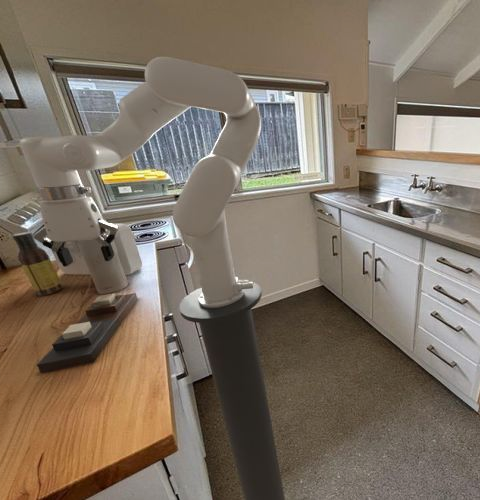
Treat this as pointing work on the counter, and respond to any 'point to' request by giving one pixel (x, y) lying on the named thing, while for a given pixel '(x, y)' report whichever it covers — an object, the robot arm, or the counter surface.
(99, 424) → the counter surface
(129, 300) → the walnut key block
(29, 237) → the sauce bottle
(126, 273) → the rounded white slab
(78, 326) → the high key
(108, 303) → the low key
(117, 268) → the thermos bottle
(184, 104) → the robot arm
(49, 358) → the black key block
